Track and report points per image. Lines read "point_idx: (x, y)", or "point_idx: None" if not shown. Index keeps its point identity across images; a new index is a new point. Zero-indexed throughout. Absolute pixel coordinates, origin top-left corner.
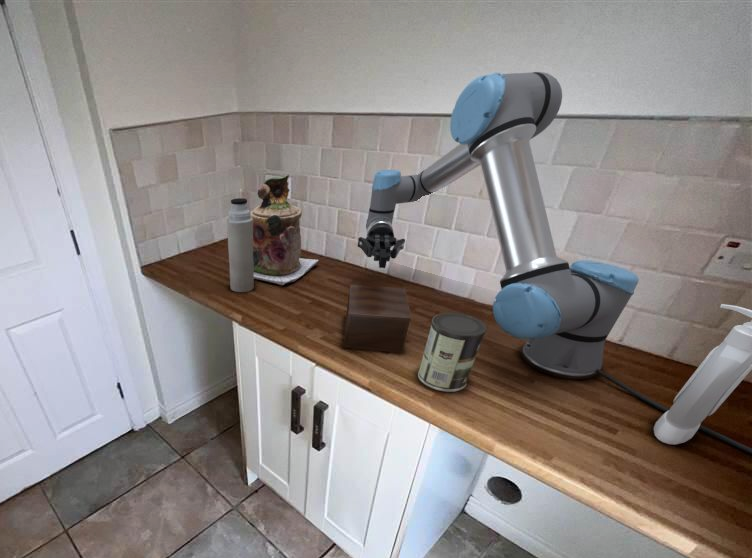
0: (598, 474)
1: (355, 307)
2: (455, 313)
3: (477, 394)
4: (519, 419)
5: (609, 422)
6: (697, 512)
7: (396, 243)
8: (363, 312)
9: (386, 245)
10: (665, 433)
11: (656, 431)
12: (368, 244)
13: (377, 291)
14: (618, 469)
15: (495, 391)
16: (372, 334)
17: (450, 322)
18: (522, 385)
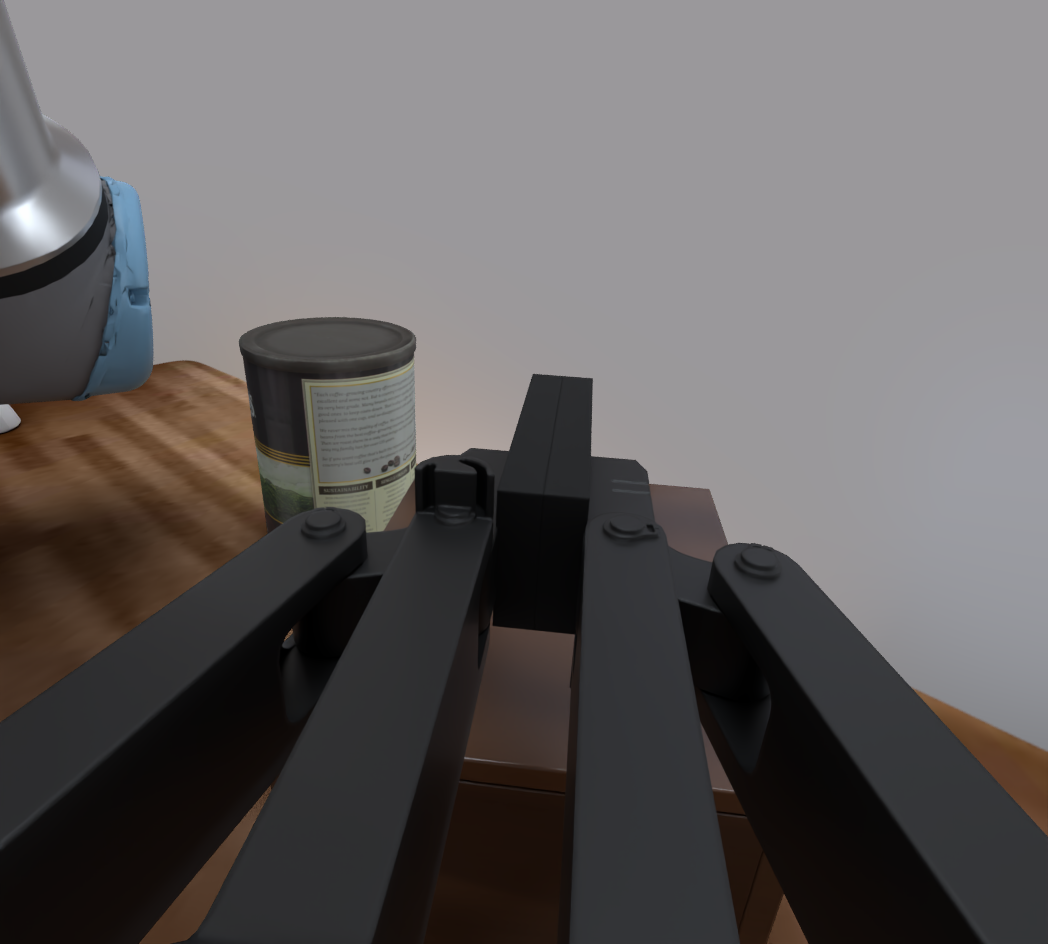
0: (227, 399)
1: (685, 520)
2: (294, 358)
3: None
4: (248, 454)
5: (51, 449)
6: (158, 377)
7: (47, 785)
8: None
9: (423, 649)
10: (9, 409)
11: (3, 423)
12: (867, 706)
13: (543, 674)
14: (183, 403)
15: (221, 503)
16: None
17: (351, 342)
18: (111, 518)
